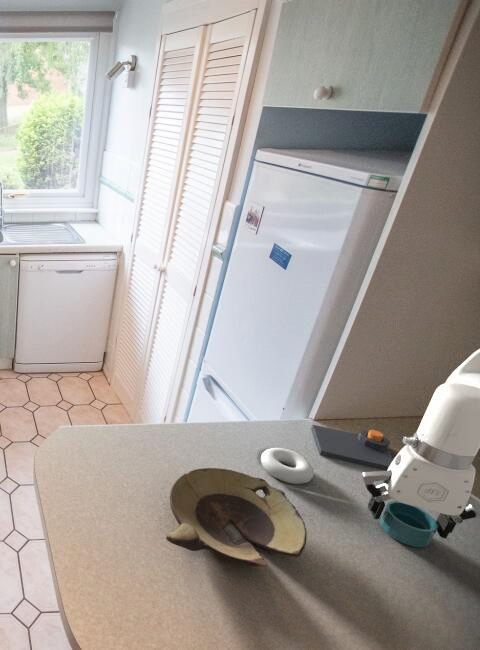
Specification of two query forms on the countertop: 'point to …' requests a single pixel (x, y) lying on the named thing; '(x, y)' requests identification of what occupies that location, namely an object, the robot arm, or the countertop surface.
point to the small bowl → (408, 524)
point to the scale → (352, 447)
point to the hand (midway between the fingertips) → (405, 522)
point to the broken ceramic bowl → (234, 516)
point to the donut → (294, 475)
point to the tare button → (375, 435)
